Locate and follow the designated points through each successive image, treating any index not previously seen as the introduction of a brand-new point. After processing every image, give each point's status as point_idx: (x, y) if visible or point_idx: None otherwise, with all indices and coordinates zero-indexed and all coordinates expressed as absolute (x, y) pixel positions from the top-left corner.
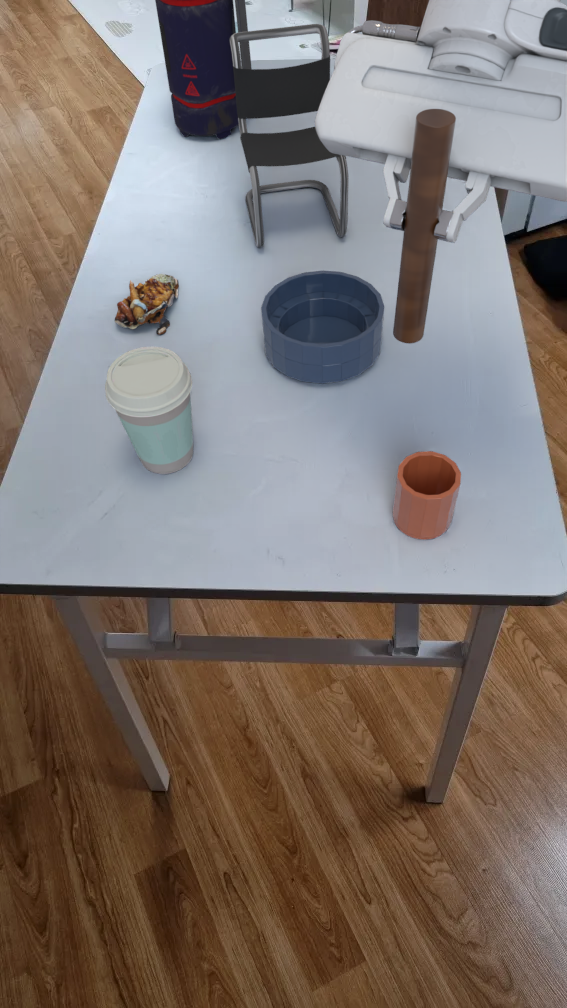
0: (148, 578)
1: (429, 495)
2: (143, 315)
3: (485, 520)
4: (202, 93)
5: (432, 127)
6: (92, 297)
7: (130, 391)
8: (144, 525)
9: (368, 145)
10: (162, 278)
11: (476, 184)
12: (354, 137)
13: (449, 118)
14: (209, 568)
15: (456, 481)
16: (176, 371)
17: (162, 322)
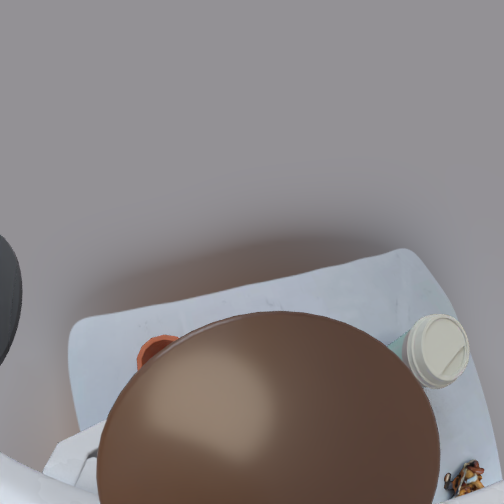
0: (346, 266)
1: (161, 339)
2: (465, 472)
3: (120, 378)
4: None
5: (276, 318)
6: (494, 475)
7: (443, 323)
8: (371, 303)
9: (461, 496)
10: None
11: (75, 462)
12: (499, 490)
13: (154, 498)
14: (314, 283)
15: (140, 360)
16: (428, 359)
17: (450, 484)
